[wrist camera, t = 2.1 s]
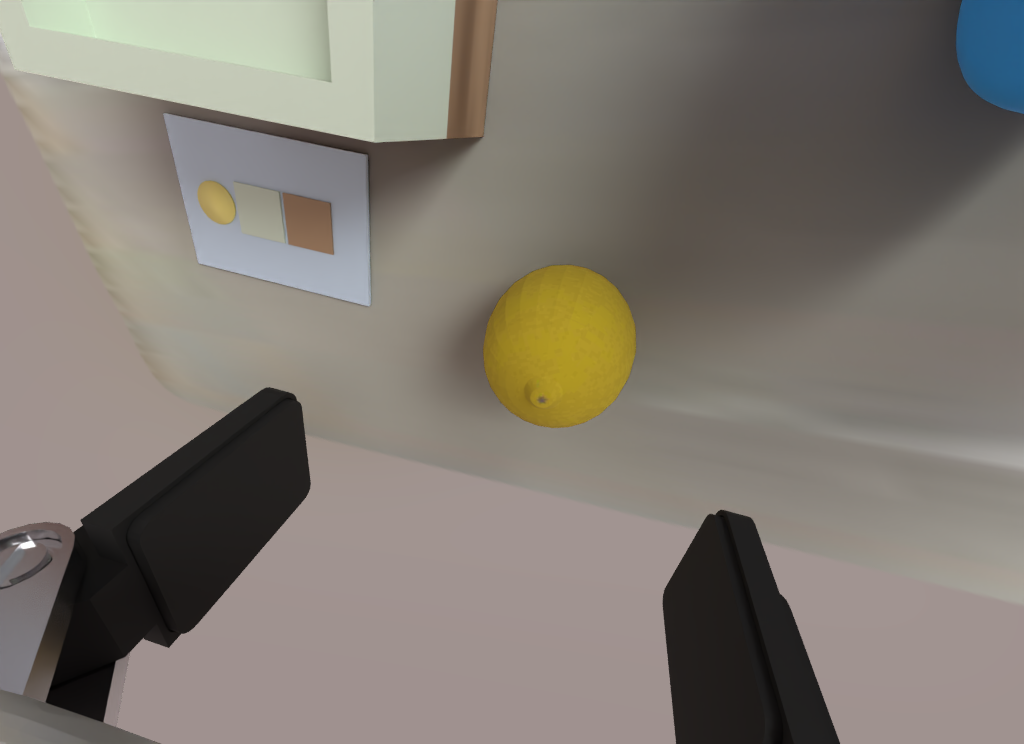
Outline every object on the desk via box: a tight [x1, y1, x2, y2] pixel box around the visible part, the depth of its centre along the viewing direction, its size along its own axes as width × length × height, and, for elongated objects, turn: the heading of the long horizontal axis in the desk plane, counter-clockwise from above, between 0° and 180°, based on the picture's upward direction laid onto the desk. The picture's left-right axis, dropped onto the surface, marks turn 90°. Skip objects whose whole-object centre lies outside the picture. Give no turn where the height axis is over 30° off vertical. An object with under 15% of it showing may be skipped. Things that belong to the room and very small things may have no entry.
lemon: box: [483, 265, 636, 428], centre depth 16 cm, size 6×6×8 cm
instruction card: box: [163, 113, 371, 306], centre depth 21 cm, size 10×7×1 cm
